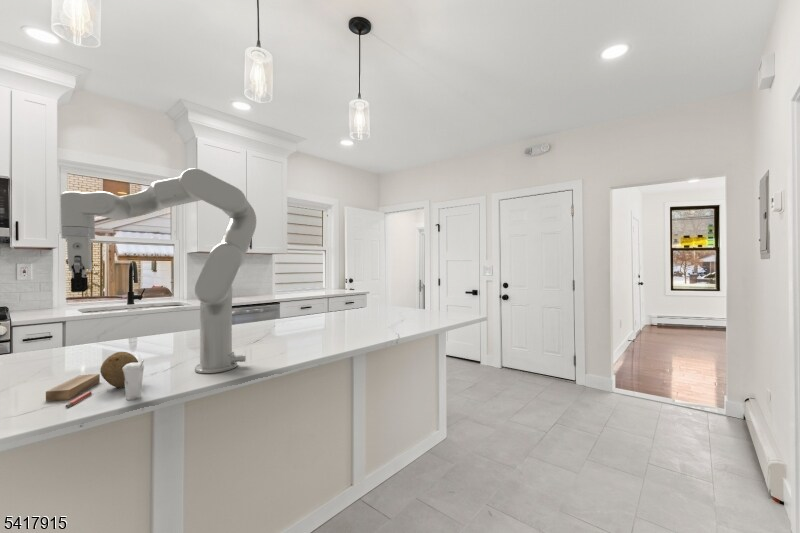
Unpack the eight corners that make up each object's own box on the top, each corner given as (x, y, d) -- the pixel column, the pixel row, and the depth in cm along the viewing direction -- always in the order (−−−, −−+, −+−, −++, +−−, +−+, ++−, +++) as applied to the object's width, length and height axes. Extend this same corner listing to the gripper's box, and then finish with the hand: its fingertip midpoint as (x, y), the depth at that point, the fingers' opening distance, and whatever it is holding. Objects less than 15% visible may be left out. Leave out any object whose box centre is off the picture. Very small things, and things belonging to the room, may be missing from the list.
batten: (99, 382, 107) (99, 373, 107) (69, 399, 93) (69, 389, 93) (79, 383, 106) (79, 375, 106) (45, 401, 92) (45, 391, 92)
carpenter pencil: (91, 394, 97) (91, 391, 97) (68, 407, 88) (68, 404, 88) (87, 394, 97) (87, 391, 97) (64, 408, 88) (64, 404, 88)
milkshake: (135, 402, 92) (135, 362, 91) (117, 400, 93) (117, 361, 93) (151, 395, 96) (150, 358, 96) (134, 394, 97) (134, 357, 97)
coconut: (98, 386, 103) (98, 351, 103) (136, 379, 109) (136, 346, 109) (102, 394, 97) (101, 357, 97) (142, 386, 103) (142, 351, 103)
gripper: (93, 232, 104) (95, 291, 104) (96, 236, 117) (97, 288, 117) (57, 231, 99) (59, 293, 99) (64, 235, 113) (65, 290, 113)
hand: (79, 290), depth 108 cm, fingers open, 9 cm apart
